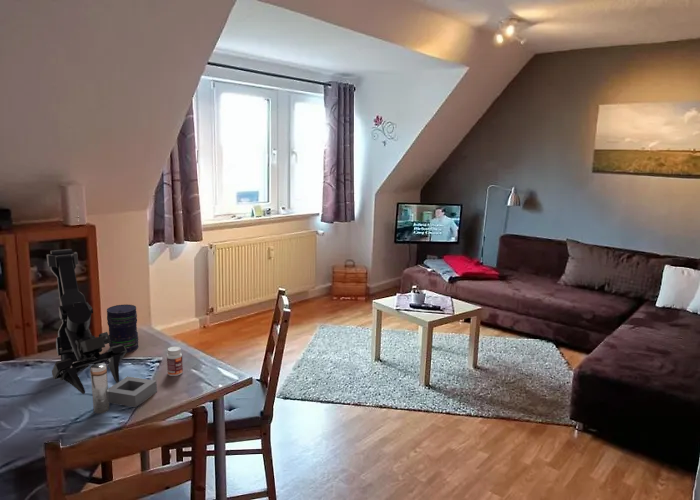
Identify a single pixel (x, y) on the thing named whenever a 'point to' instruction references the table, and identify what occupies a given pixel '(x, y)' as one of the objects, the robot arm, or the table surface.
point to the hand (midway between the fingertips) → (101, 387)
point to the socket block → (131, 391)
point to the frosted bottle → (99, 388)
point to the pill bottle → (174, 361)
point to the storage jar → (123, 326)
